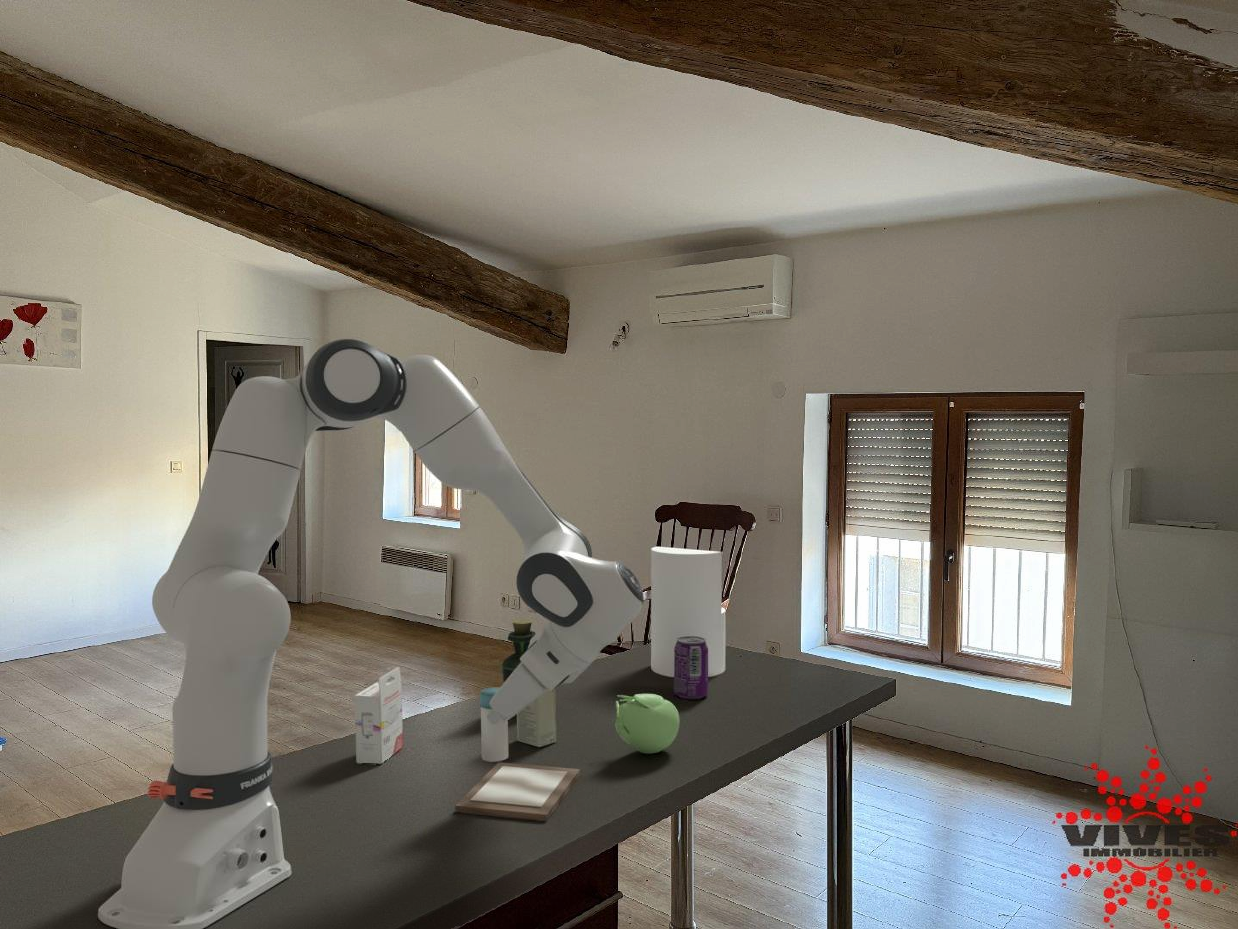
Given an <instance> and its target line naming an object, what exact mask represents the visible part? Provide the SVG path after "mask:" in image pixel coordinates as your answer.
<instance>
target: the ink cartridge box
mask: <svg viewBox="0 0 1238 929" xmlns="http://www.w3.org/2000/svg"><path fill="white" fill-rule="evenodd" d="M389 678H392V681H390V682H387V681H388V680H390V679H389ZM353 697H354V718H355V719H354V721H355V722H354V723H355V750H356V751H355V758H356V760H355V762H357V763H356V764H362V763H379V764H380V763H383V762H384V761H385V760H387V759H388V760H390V759H391V758H392V757H393V756H394V755H396V754H397V753H398V752H399V751H400V750H399V749H400V748H402V749H403V747H404V746H403V743H404V742H403V741H404V740H403V738H404V737H403V734H404V733H403V684H402V676H401V668H400V666H397V667H396V668H394V669H391V670H390V671H389V672H387V673H385V674H384V675H382V676H380V677H379V678H378V680H377V681H376V682H374V683H373V684H371V685H370V686H369V687H366V688H365V689H363V690H362V691H360V692H358V693H356V694H354V695H353ZM398 750H399V751H398ZM397 751H398V752H397ZM396 752H397V753H396ZM395 753H396V754H395ZM393 754H394V755H393ZM392 755H393V756H392ZM391 756H392V757H391ZM390 757H391V758H390ZM389 758H390V759H389ZM388 760H387V761H388ZM383 764H384V763H383Z"/></svg>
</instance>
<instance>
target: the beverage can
mask: <svg viewBox="0 0 1238 929" xmlns="http://www.w3.org/2000/svg"><path fill="white" fill-rule="evenodd" d="M673 680H674V681H673V682H674V683H673V685H674V686H673V690H674V691H673V693H674V694H675V695H677V696H678V697H680V698H681V699H685V700H699V699H702V698H703V697H706V696H707V695H709V677H708V647H707V644H706V639H705V638H702V637H697V636H683V637H679V638H677V643H676V645H675V647H674V677H673Z"/></svg>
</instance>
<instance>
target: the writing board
mask: <svg viewBox="0 0 1238 929" xmlns="http://www.w3.org/2000/svg"><path fill="white" fill-rule="evenodd" d="M580 776H581V769H580V768H579V769H578V768H568V767H559V766H545V765H534V764H523V763H521V764H520V763H509V762H501V761H497V763H496V764H495V765H494V766H493V767H492V768H491V769H490V770H489V771H488V772H487V773H486V774H485V775H484V776H483V777H482V778H481V779H480V781H478V782H477V783H476V784H475V785H474V786H473V787H472V789H470V791H469V792H467V794H465V795H464V796H463V798H461V799H460V800H459V801H458V803H457V804H455V806H454V807H455V810H454V812H455V813H457V812H460V813H459V814H467V815H477V816H488V817H498V818H500V817H501V818H510V819H517V820H527V821H528V820H531V821H538V822H539V821H541V822H547V821H548V820H549V819H550V818H551V816H552V815H553V813H554V812H555V811H556V809H557V808H558V807H559V805H560V804H561V802H562V801H563V799H564V798H565V797H566V795H567V794H568V793H569V792H570V789H572V787H573V786H574V785H575V783H576V782H577V780H578V779H579V778H580ZM468 813H469V814H468Z"/></svg>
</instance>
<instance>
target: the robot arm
mask: <svg viewBox="0 0 1238 929" xmlns="http://www.w3.org/2000/svg"><path fill="white" fill-rule="evenodd" d="M375 418H377V419H382V420H384V421H387V422H388V423H390V424H392V425H393V426H394V427H395V428H396V429H397V430H398V431H399V432H400V433H402V435H403V438H405V440H406V442H407V443H408V444H409V446H410V447H411V449H412V451H414V453H415V454H416V456H417V457H418V458H419V460H420V461H421V462H422V464H423V465H424V466H425V468H426V469H427V470H428V471H429V472H430V473H431V474H432V475H433V476H434V477H435V478H436V479H437V480H438V481H439V482H440V483H442V484H443V485H444V486H446V487H449V488H452V489H456V490H469V491H473V492H476V493H479V494H481V495H483V496H485V497H486V498H487V499H489V501H491V502H492V504H493V505H494V506H495V507H496V509H497V510H498V511H499V512H500V513H501V515H502V516H503V517H504V518H505V519H506V521H507V522H508V523H509V525H510V526H511V527H512V529H513V530H514V532H516V534H517V535H518V536H519V537H520V539H521V542H522V544H523V548H524V557H523V558H522V561H521V564H520V566H519V569H518V571H517V575H516V589H517V593H518V595H519V597H520V598H521V600H522V601H523V603H524V604H525V605H527V607H529V609H531V610H532V611H534V612H536V613H537V614H539V615H540V616H542V617H543V618H545V619H547V620H548V621H547V622H546V623H545V624H544V625H543V626H542V627H541V628H540V629H539V631H537V632H535V633H536V634H535V635H534V636H533V637H532V638H531V640H530V644H529V646H528V649H527V650H526V652H525V653H524V654H523V655H522V656H521V657H520V660H521V663H520V664H519V665H518V666H517V668H516V669H515V670H514V671H513V672H512V674H511V675H510V676H509V677H508V679H507V680H506V681H505V682H503V683H502V685H501V686H500V688H499V690H498V691H497V692H496V693H495V695H494V696H493V698H492V699H491V701H490V706H491V708H492V709H493V710H492V711H491V712H490V713H489V714H488V715H487V719H488V720H489V721H490V722H491V723H492V724H496V723H497V722H498V721H499V720H500V719H503V720H504V721H507V720H511V719H512V718H513V717H516V716H515V715H516V714H517V713H519V712H520V711H521V710H522V709H524V708H525V707H526V706H527V705H529V704H530V703H531V702H533V701H534V700H535V699H536V698H538V697H539V696H540V695H542V694H543V693H544V692H546V691H547V690H549V691H552V690H553V689H555V690H556V688H557V687H560V686H562V685H565V684H572V683H573V682H574V681H575V680H576V679H577V678H578V677H580V676H581V674H582V673H584V671H585V670H586V669H588V667H590V665H592V663H594V662H595V660H596V659H597V658H598V656H599V654H600V652H601V651H602V650H603V649H604V648H606V647H607V646H608V645H610V644H612V643H614V642H615V641H616V640H617V639H618V638H619V637H620V636H621V635H622V633H624V632H625V631H626V630H627V628H628V627H630V625H631V624H632V623H633V622H634V620H635V619H636V618H637V617H638V615H639V614H640V613H641V611H642V609H643V607H644V601H645V598H644V591H643V588H642V586H641V584H640V582H639V580H638V578H637V577H636V575H635V574H634V572H632V571H631V569H630V568H629V567H628V566H627V565H625V564H624V563H622V562H621V561H619V560H618V561H617V560H615V561H614V560H613V561H611V560H604V559H603V560H602V559H598V558H594V557H593V550H592V546H591V544H590V541H589V540H588V538H587V537H586V535H585V534H584V533H583V531H581V530H580V529H579V528H577V527H576V526H575V525H573V524H571V523H570V522H568V521H567V520H565V519H563V518H562V517H561V516H559V515H558V514H557V513H555V511H554V510H553V509H552V508H551V507H550V505H548V503H547V502H546V500H544V498H543V497H542V495H541V494H540V493H539V491H538V489H536V487H535V486H534V485H533V484H532V482H531V481H530V480H529V478H528V477H527V476H526V475H525V473H524V472H523V471H522V470H521V468H520V467H519V466H518V464H517V463H516V462H515V461H514V459H513V457H512V456H511V453H509V451H508V449H507V448H506V447H505V445H504V443H503V441H502V439H501V438H500V436H499V434H498V432H497V431H496V429H495V427H494V426H493V424H492V423H491V421H490V420H489V418H488V417H487V415H486V413H485V412H484V411H483V409H482V408H481V407H480V404H479V403H478V402H477V401H476V399H475V398H474V396H473V395H472V393H470V392H469V389H467V387H466V386H465V385H464V384H463V383H462V382H461V381H460V380H459V378H458V377H456V375H455V374H454V373H453V372H452V371H451V370H450V369H449V368H447V366H446V365H445V364H444V363H443V362H441V360H439V359H438V358H437V357H435V356H432V355H429V354H416V355H412V356H409V357H407V358H405V359H402V360H400V359H398V358H397V357H394V355H391V354H389V353H386V352H384V351H383V350H380V349H379V348H377V347H375V346H374V345H372V344H370V343H367V342H366V341H362V340H358V339H354V338H340V339H336V340H332V341H329V342H328V343H326V344H324V345H322V346H321V347H319V348H318V349H317V350H316V351H315V352H314V354H313V355H312V356H311V358H310V359H309V360H308V361H307V363H305V366H304V368H302V370H301V372H300V373H299V374H298V375H297V376H296V377H293V378H286V379H283V378H280V377H276V376H269V375H267V376H264V375H262V376H256V377H255V376H254V377H250V378H248V379H246V380H244V381H243V382H241V383H240V384H239V385H238V386H237V388H235V391H234V393H233V395H232V397H231V398H230V401H229V403H228V405H227V408H226V410H225V412H224V415H223V417H222V420H221V422H220V425H219V427H218V429H217V433H216V436H215V439H214V443H213V446H212V450H211V453H210V456H209V459H208V464H207V467H206V472H205V475H204V478H203V482H202V485H201V486H202V487H201V489H200V493H199V496H198V500H197V503H196V504H197V505H196V508H195V509H194V512H193V515H192V518H191V520H190V522H189V525H188V526H187V529H186V531H185V533H184V534H183V537H182V539H181V541H180V543H179V545H178V547H177V550H176V551H175V553H174V556H173V558H172V560H171V562H170V564H169V567H168V569H167V570H166V572H165V573H164V574H163V575H162V576H161V577H160V578H159V579H158V581H157V583H156V584H155V587H154V589H153V593H152V598H151V602H152V603H151V605H152V609H153V613H154V615H155V618H156V619H157V621H158V623H159V625H160V626H161V628H162V629H163V631H164V632H165V633H166V634H167V635H168V636H170V637H171V638H173V639H174V640H177V641H178V642H181V643H183V645H184V650H185V661H184V662H185V663H184V669H183V673H182V680H181V683H180V687H179V691H178V694H177V695H176V697H175V698H174V700H173V703H172V709H171V710H172V714H171V715H172V748H173V749H172V752H173V753H172V756H173V757H172V758H173V759H172V760H173V763H172V764H171V765H170V768H169V772H168V775H167V777H166V781H160V780H153V781H151V783H149V785H148V786H149V787H148V788H147V796H148V797H149V798H150V799H161V800H163V804H162V805H161V807H160V808H159V810H158V811H157V812H156V814H155V815H154V817H153V818H152V820H150V823H149V824H148V825H147V827H146V829H145V830H144V831H143V832H142V834H141V836H140V837H139V839H138V840H137V842H136V843H135V845H134V846H133V847H132V849H131V850H130V851H129V853H128V854H127V855H126V857H125V860H124V863H123V867H122V875H121V886H120V888H119V890H117V891H116V892H114V894H113V895H112V896H110V897H109V898H108V899H107V900H106V901H105V902H104V903H103V904H101V905H100V906H99V908H98V910H97V918H98V919H99V921H100V922H102V923H103V924H105V925H107V926H109V927H112V928H116V929H204V928H207V927H208V926H210V925H211V924H213V923H215V922H217V921H218V920H220V919H222V918H223V917H225V916H226V915H228V914H230V913H231V912H233V911H235V910H236V909H237V908H240V907H241V906H242V905H244V904H246V903H247V902H249V901H251V900H252V899H254V898H256V897H258V896H259V895H261V894H262V893H264V892H266V891H268V890H269V889H271V888H272V887H274V886H276V885H277V884H279V883H281V882H282V881H284V880H285V879H286V880H287V878H289V877H290V876H291V875H292V866H291V864H290V863H289V862H288V860H286V859H285V856H284V855H285V854H284V847H283V846H284V845H283V838H282V837H283V836H282V829H281V821H280V812H279V807H278V806H277V804H276V802H275V800H274V797H273V795H272V792H271V788H270V785H271V783H272V781H273V768H274V767H273V763H272V754H271V752H270V751H269V750H268V747H269V746H268V697H269V696H268V695H269V689H270V688H269V687H270V682H271V676H272V672H273V667H274V663H275V659H276V658H275V657H276V656H277V655H276V654H277V651H278V649H279V648H280V647H281V646H282V644H283V642H284V641H285V640H286V638H287V635H288V633H289V631H290V628H291V627H290V626H291V619H292V618H291V617H292V615H291V609H290V605H289V603H288V601H287V599H286V597H285V595H284V594H283V593H282V592H281V591H280V590H279V589H278V588H277V587H276V586H275V585H274V584H273V583H272V582H271V581H270V580H268V579H267V578H265V577H264V576H262V575H260V574H259V572H260V569H261V566H262V565H263V563H264V561H265V559H266V558H267V556H268V553H269V551H270V550H271V548H272V546H273V545H274V543H275V542H276V540H277V539H278V538H279V537H280V536H282V534H283V533H284V531H285V529H286V528H287V526H288V522H289V518H290V514H291V510H292V507H293V502H294V498H295V495H296V490H297V487H298V482H299V478H300V476H301V470H302V466H303V462H304V457H305V453H306V449H307V446H308V445H309V441H310V439H311V438H312V437H313V436H312V435H313V434H314V433H315V432H319V431H322V432H323V431H344V430H349V429H353V428H356V427H358V426H361V425H363V424H365V423H367V422H369V421H370V420H372V419H375Z"/></svg>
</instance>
